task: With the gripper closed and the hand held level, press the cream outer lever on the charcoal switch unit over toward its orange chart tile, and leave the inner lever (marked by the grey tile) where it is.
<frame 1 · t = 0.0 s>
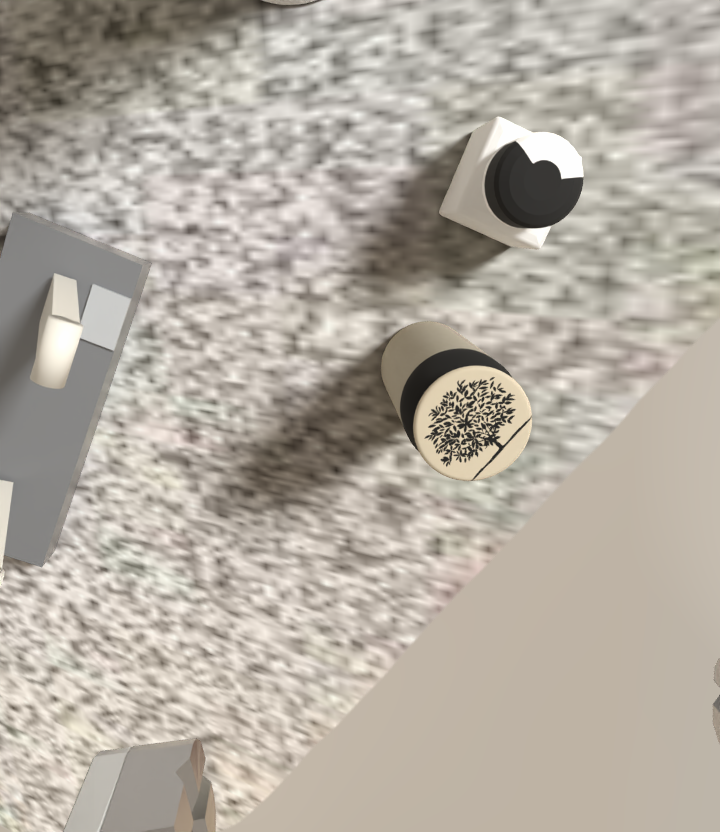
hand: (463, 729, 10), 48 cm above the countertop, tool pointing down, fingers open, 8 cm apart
medicine bottle: (492, 189, 54), on the countertop
switch unit: (43, 394, 56), on the countertop
inner lever: (57, 325, 45), point 10 cm above the countertop, hinge at -20.0°
travel mug: (425, 365, 58), on the countertop
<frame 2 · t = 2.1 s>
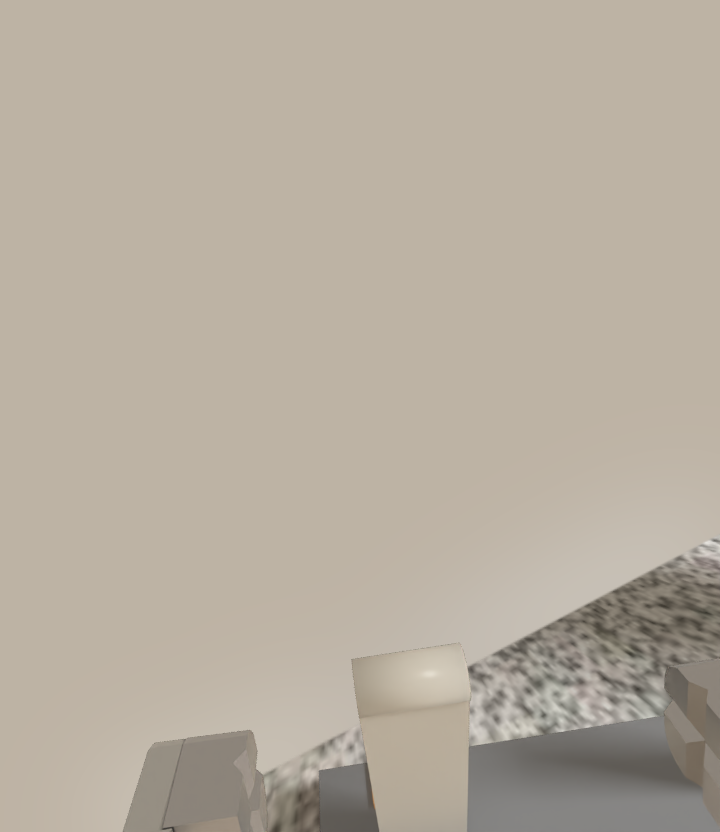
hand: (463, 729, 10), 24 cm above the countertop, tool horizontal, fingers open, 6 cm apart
outer lever: (416, 759, 27), point 10 cm above the countertop, hinge at -20.0°
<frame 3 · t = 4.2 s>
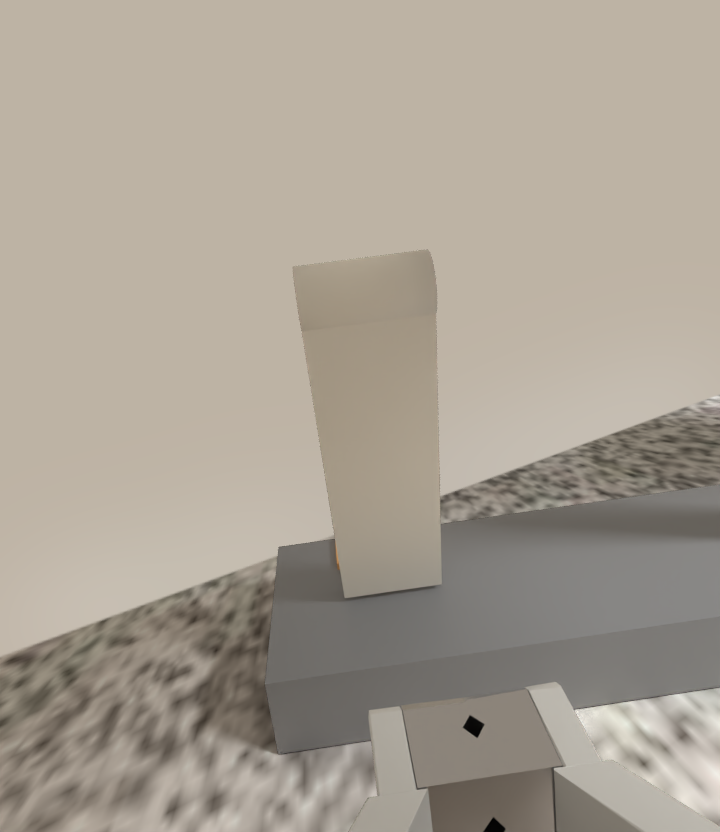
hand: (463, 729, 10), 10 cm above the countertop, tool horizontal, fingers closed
outer lever: (378, 446, 23), point 10 cm above the countertop, hinge at -20.0°
switch unit: (602, 617, 29), on the countertop
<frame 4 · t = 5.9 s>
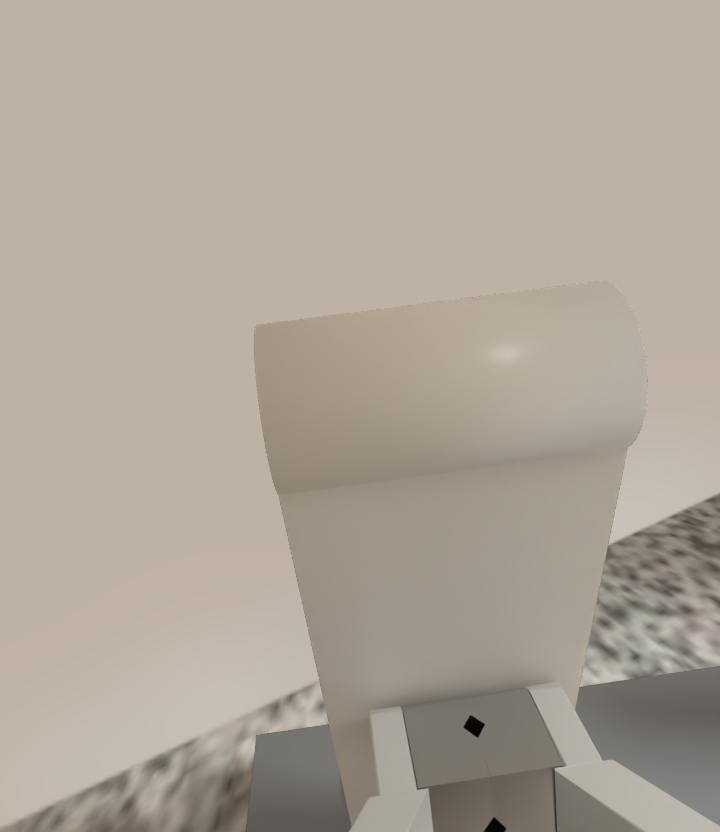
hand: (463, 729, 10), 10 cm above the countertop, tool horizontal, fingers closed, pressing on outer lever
outer lever: (444, 676, 11), point 10 cm above the countertop, hinge at -19.9°, touching gripper
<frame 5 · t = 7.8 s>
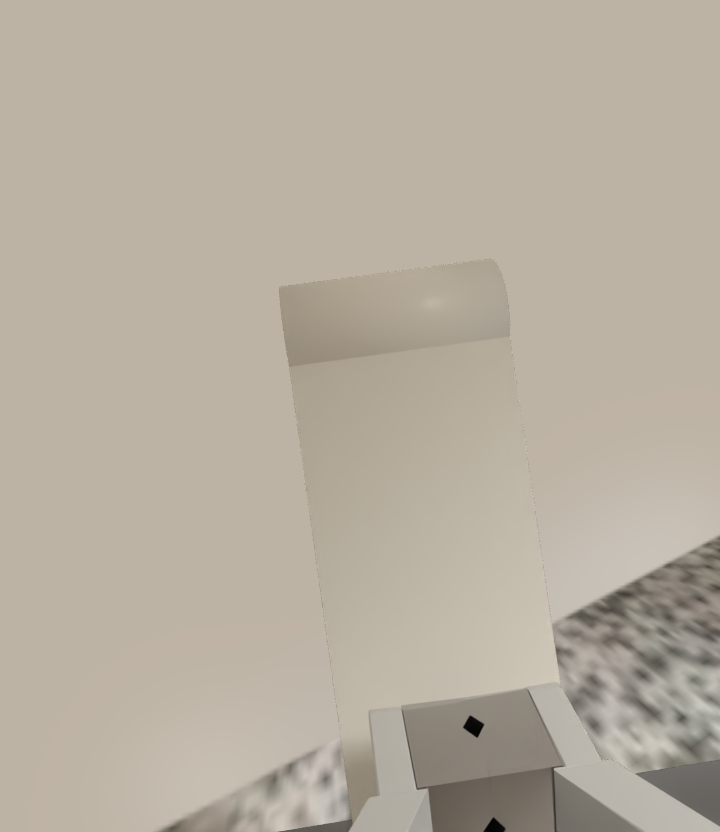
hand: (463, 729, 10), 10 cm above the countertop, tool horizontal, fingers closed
outer lever: (436, 638, 12), point 10 cm above the countertop, hinge at 17.7°
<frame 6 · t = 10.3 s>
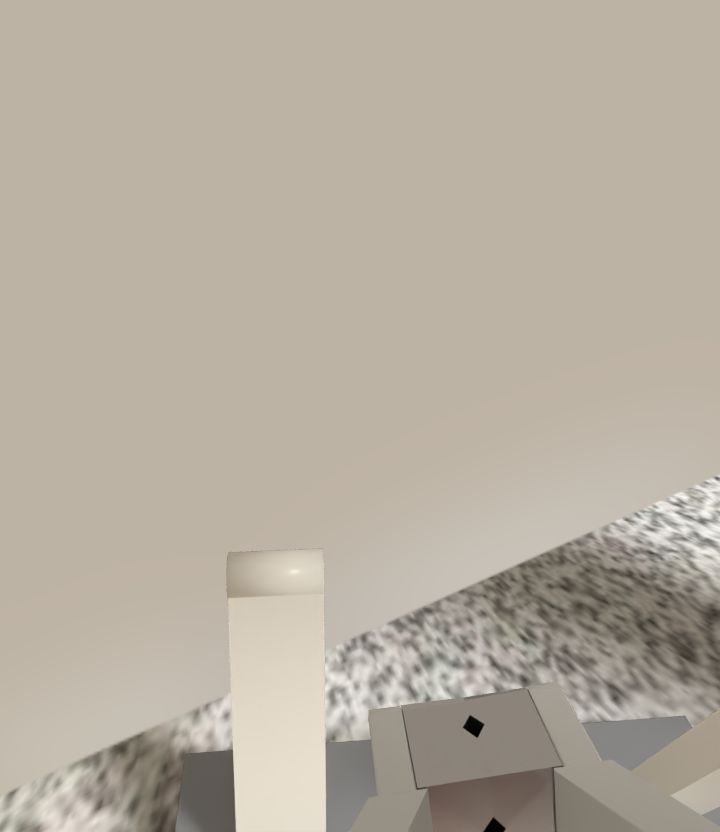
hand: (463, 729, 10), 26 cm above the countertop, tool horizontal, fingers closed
outer lever: (278, 701, 29), point 10 cm above the countertop, hinge at 17.7°
inner lever: (715, 765, 27), point 10 cm above the countertop, hinge at -20.0°
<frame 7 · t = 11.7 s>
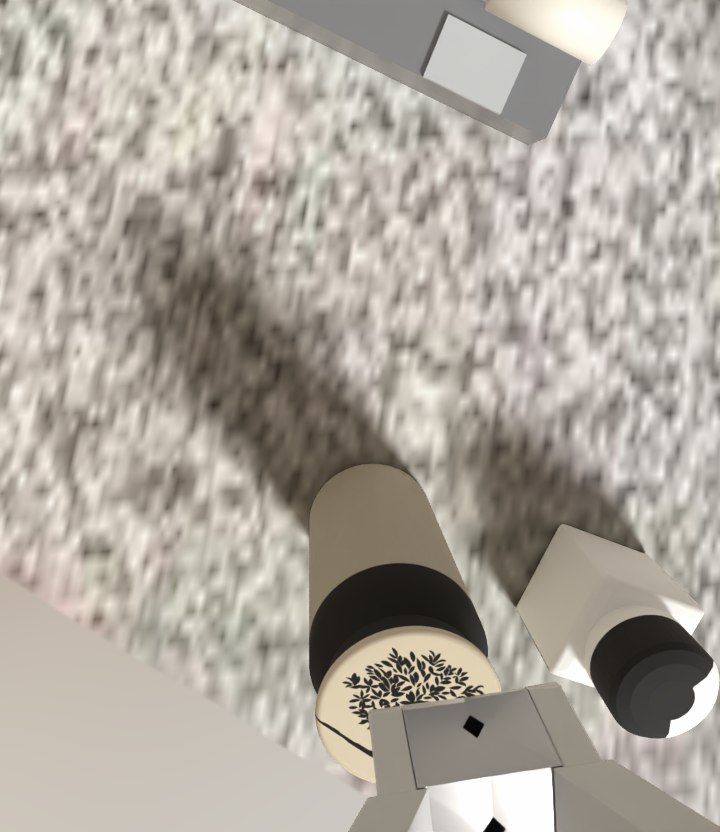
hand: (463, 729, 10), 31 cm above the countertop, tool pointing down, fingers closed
medicine bottle: (579, 579, 46), on the countertop
travel mug: (369, 517, 43), on the countertop
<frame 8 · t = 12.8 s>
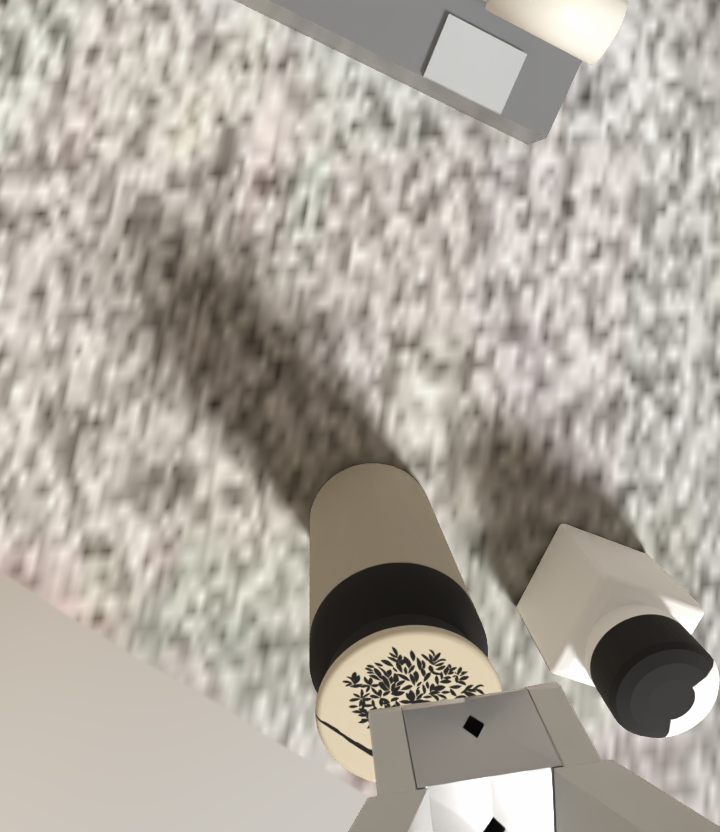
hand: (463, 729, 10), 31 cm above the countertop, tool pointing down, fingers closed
medicine bottle: (579, 579, 46), on the countertop
travel mug: (370, 516, 43), on the countertop
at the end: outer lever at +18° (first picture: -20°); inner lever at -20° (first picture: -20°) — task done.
